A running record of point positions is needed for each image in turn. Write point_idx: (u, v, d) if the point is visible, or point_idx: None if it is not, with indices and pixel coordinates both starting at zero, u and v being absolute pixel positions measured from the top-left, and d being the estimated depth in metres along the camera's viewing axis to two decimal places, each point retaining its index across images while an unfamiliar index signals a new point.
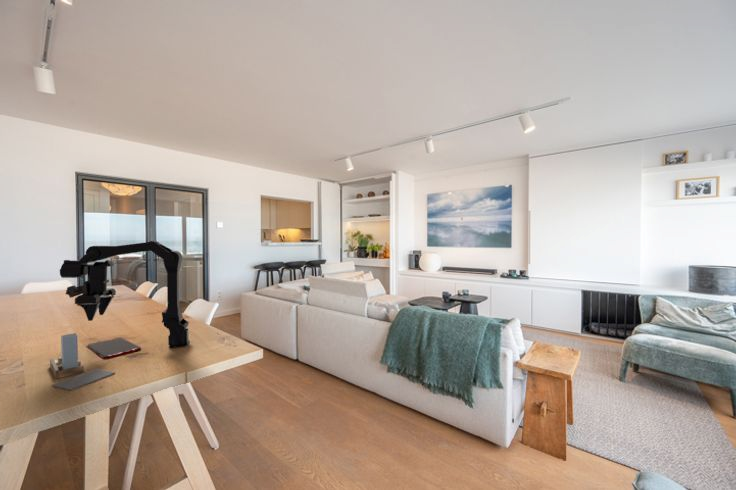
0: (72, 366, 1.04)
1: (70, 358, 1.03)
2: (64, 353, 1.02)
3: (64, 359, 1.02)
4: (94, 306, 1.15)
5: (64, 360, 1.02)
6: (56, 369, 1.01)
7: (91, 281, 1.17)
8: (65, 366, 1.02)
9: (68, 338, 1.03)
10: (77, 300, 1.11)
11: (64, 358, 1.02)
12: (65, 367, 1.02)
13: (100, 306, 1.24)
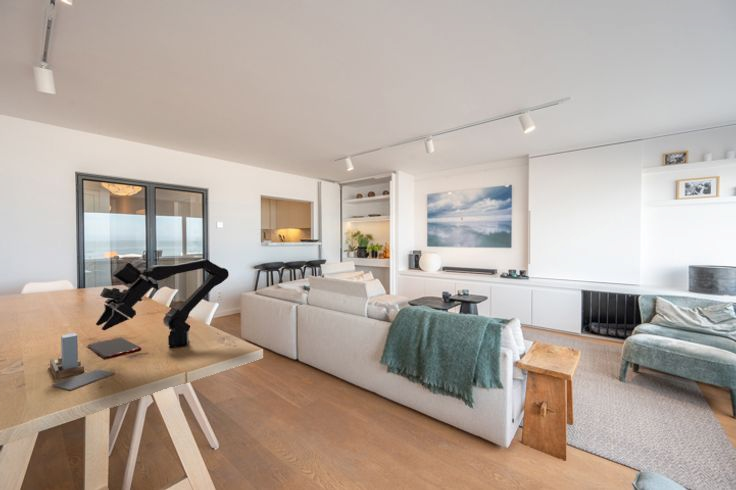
0: (72, 366, 1.04)
1: (70, 358, 1.03)
2: (64, 353, 1.02)
3: (64, 359, 1.02)
4: (122, 319, 1.10)
5: (64, 360, 1.02)
6: (56, 369, 1.01)
7: (134, 294, 1.16)
8: (65, 366, 1.02)
9: (68, 338, 1.03)
10: (122, 307, 1.08)
11: (64, 358, 1.02)
12: (65, 367, 1.02)
13: (104, 316, 1.15)
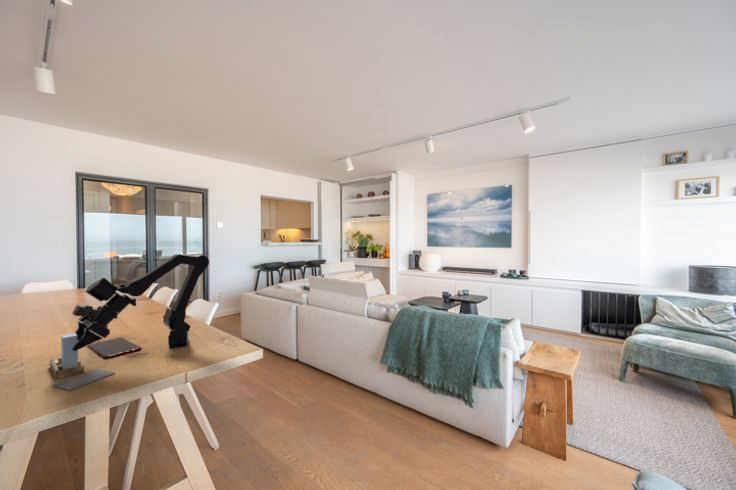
0: (72, 366, 1.04)
1: (70, 358, 1.03)
2: (64, 353, 1.02)
3: (64, 359, 1.02)
4: (95, 339, 1.05)
5: (64, 360, 1.02)
6: (56, 369, 1.01)
7: (109, 311, 1.10)
8: (65, 366, 1.02)
9: (68, 338, 1.03)
10: (94, 327, 1.02)
11: (64, 358, 1.02)
12: (65, 367, 1.02)
13: (77, 334, 1.09)
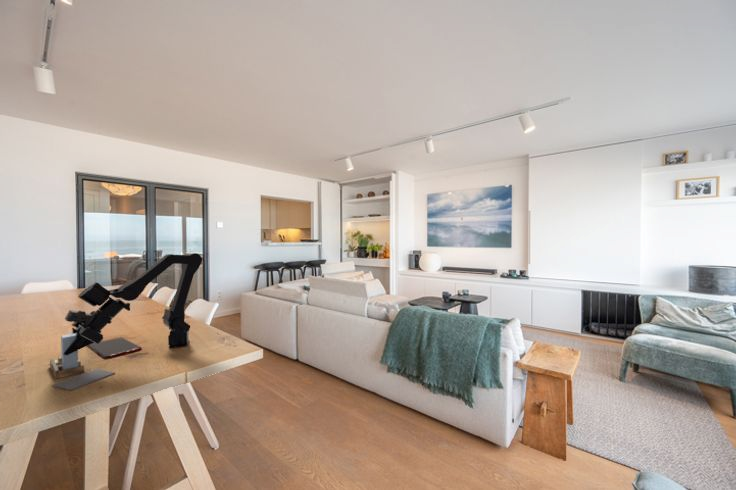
0: (72, 366, 1.04)
1: (70, 358, 1.03)
2: None
3: (64, 359, 1.02)
4: (87, 343, 1.05)
5: (64, 360, 1.02)
6: (56, 369, 1.01)
7: (102, 316, 1.09)
8: (65, 366, 1.02)
9: (68, 338, 1.03)
10: (87, 332, 1.01)
11: (64, 358, 1.02)
12: (65, 367, 1.02)
13: None
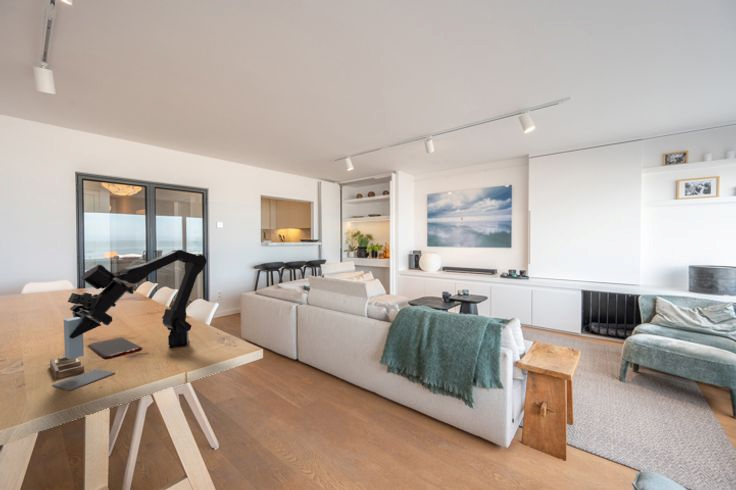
0: (78, 350, 1.01)
1: (76, 342, 1.00)
2: None
3: (69, 343, 0.99)
4: (93, 326, 1.03)
5: (69, 344, 0.99)
6: (56, 369, 1.01)
7: (107, 298, 1.07)
8: (71, 350, 0.99)
9: (74, 320, 1.00)
10: (97, 314, 0.99)
11: (69, 342, 0.99)
12: (71, 351, 0.99)
13: None
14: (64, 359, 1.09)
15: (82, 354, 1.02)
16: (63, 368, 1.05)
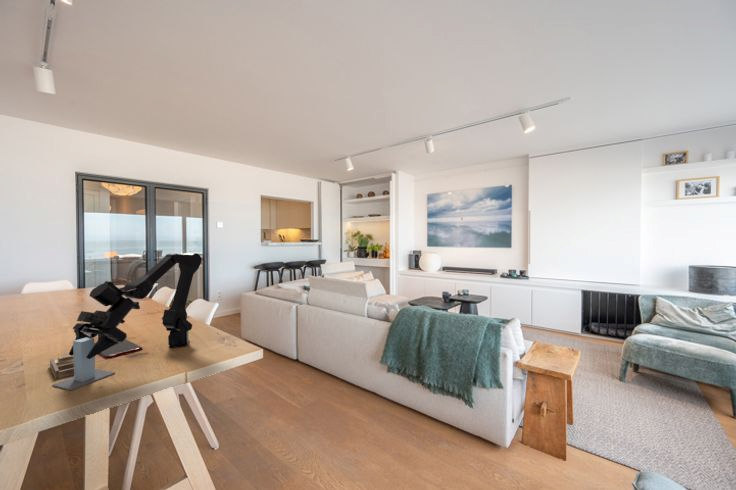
0: (89, 371, 0.99)
1: (88, 363, 0.98)
2: (82, 358, 0.97)
3: (82, 364, 0.97)
4: (110, 344, 1.00)
5: (82, 365, 0.97)
6: (56, 369, 1.01)
7: (117, 315, 1.06)
8: (83, 372, 0.97)
9: (86, 341, 0.98)
10: (113, 331, 0.99)
11: (82, 363, 0.97)
12: (83, 373, 0.97)
13: None
14: (64, 359, 1.09)
15: (93, 376, 1.00)
16: (63, 368, 1.05)
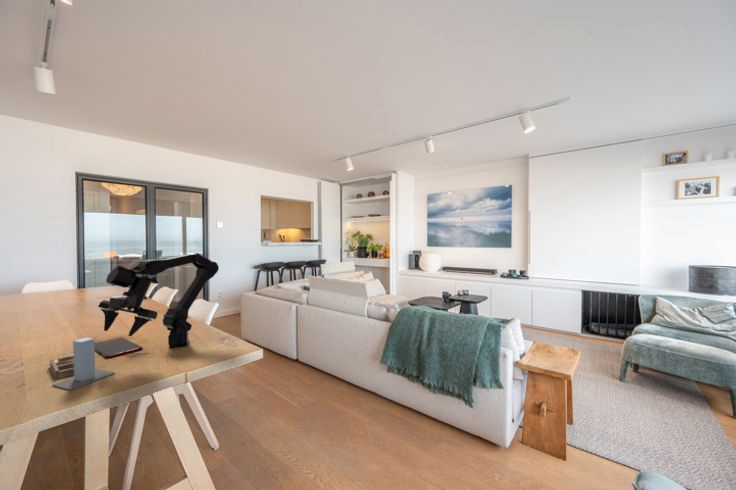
0: (89, 371, 0.99)
1: (88, 363, 0.98)
2: (82, 358, 0.97)
3: (82, 364, 0.97)
4: (145, 321, 1.14)
5: (82, 365, 0.97)
6: (56, 369, 1.01)
7: (142, 295, 1.15)
8: (83, 372, 0.97)
9: (86, 341, 0.98)
10: (149, 314, 1.12)
11: (82, 363, 0.97)
12: (83, 373, 0.97)
13: (109, 321, 1.12)
14: (64, 359, 1.09)
15: (93, 376, 1.00)
16: (63, 368, 1.05)
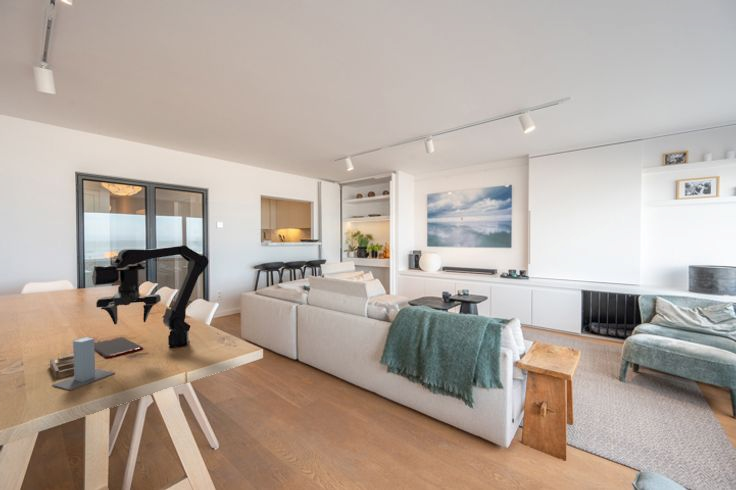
0: (89, 371, 0.99)
1: (88, 363, 0.98)
2: (82, 358, 0.97)
3: (82, 364, 0.97)
4: (151, 305, 1.21)
5: (82, 365, 0.97)
6: (56, 369, 1.01)
7: (137, 284, 1.17)
8: (83, 372, 0.97)
9: (86, 341, 0.98)
10: (156, 300, 1.18)
11: (82, 363, 0.97)
12: (83, 373, 0.97)
13: (114, 315, 1.15)
14: (64, 359, 1.09)
15: (93, 376, 1.00)
16: (63, 368, 1.05)
